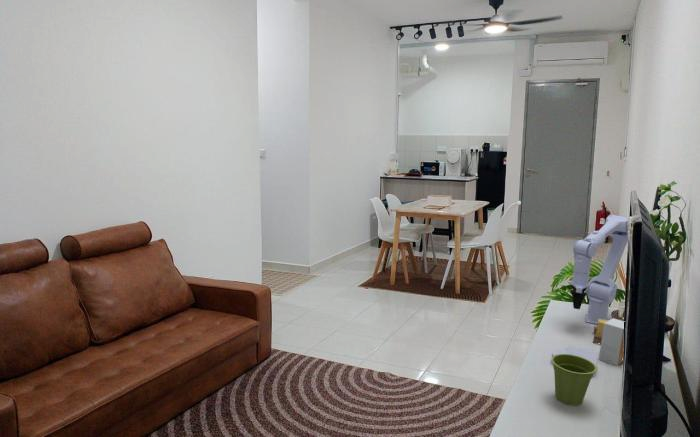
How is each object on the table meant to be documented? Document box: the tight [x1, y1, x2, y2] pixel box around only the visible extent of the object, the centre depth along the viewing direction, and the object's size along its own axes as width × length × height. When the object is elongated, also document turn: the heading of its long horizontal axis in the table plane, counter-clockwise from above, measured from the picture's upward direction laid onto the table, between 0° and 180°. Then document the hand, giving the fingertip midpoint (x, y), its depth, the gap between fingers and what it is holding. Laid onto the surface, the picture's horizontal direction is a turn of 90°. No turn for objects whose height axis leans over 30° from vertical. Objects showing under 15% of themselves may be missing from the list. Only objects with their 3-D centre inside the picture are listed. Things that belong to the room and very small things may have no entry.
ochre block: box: [596, 319, 609, 335], centre depth 192 cm, size 4×4×7 cm
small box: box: [598, 317, 625, 366], centre depth 175 cm, size 8×6×13 cm
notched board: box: [592, 326, 602, 345], centre depth 192 cm, size 11×8×2 cm
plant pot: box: [551, 354, 598, 407], centre depth 147 cm, size 12×12×11 cm
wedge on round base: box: [550, 345, 598, 366], centre depth 169 cm, size 9×7×13 cm
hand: (576, 305), depth 200 cm, fingers open, 7 cm apart
